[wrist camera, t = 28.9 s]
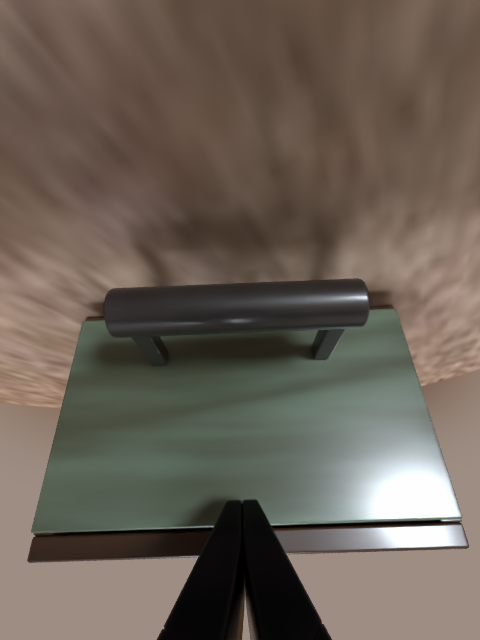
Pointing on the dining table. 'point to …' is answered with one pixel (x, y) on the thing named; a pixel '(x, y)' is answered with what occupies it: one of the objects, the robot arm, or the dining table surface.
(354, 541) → the cabinet
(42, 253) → the dining table surface
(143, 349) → the drawer
